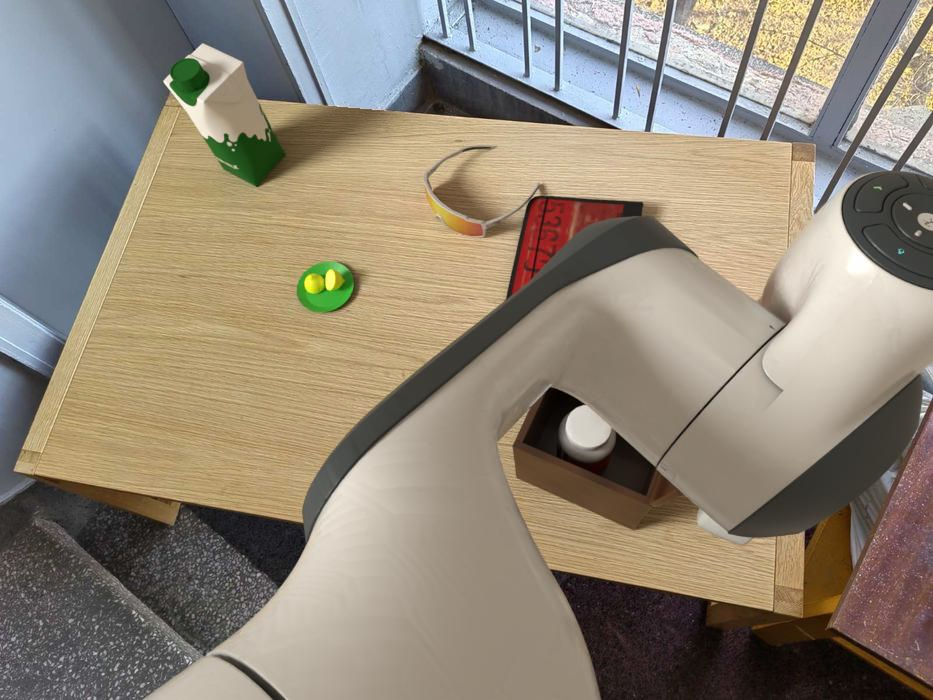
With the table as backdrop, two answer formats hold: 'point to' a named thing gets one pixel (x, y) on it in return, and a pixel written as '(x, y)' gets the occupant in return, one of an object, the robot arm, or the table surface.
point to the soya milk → (226, 112)
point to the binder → (558, 230)
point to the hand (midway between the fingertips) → (741, 433)
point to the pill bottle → (585, 440)
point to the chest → (608, 494)
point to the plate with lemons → (325, 286)
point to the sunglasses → (455, 219)
